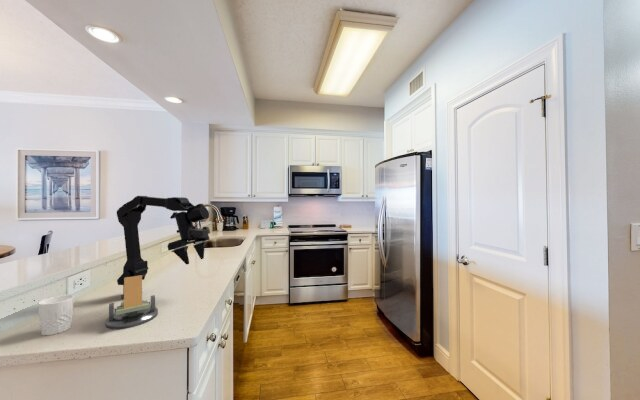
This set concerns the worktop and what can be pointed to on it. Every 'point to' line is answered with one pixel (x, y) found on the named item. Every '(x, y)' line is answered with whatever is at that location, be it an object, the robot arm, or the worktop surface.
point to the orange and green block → (132, 296)
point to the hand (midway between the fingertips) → (195, 261)
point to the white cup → (55, 314)
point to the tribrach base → (131, 317)
